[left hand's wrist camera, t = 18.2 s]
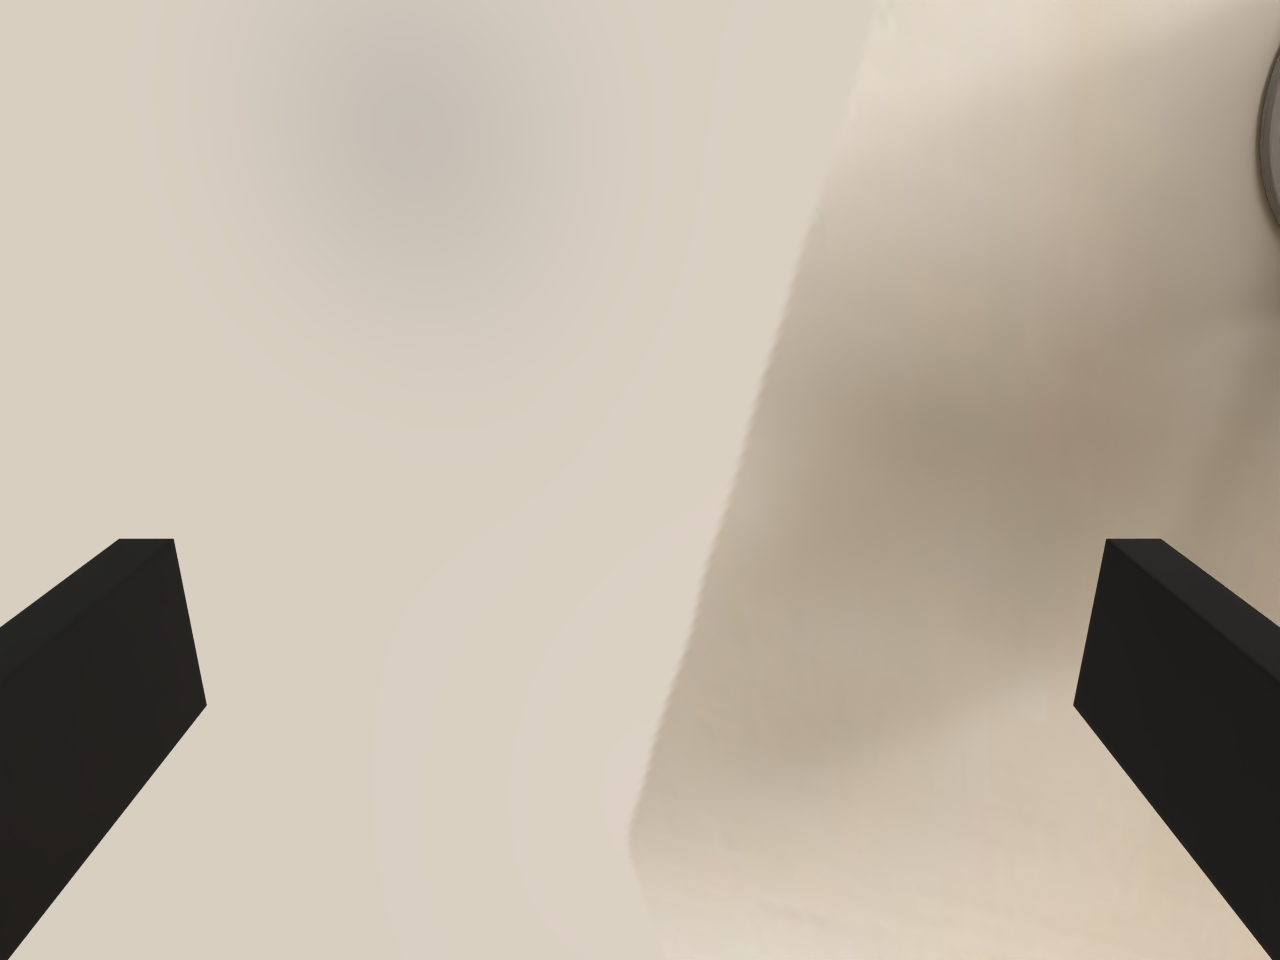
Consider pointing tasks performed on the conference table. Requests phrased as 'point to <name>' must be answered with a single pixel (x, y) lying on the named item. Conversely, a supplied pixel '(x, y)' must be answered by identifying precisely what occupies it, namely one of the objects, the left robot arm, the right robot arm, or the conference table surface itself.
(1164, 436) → the conference table surface
